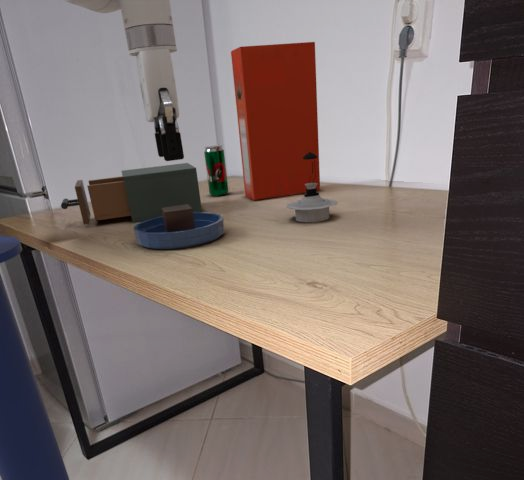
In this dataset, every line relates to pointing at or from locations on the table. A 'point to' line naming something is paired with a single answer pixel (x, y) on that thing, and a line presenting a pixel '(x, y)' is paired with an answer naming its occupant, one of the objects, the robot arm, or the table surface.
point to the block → (178, 218)
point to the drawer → (101, 199)
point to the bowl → (179, 232)
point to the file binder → (277, 117)
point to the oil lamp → (311, 202)
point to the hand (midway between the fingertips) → (170, 157)
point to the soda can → (216, 170)
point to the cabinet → (161, 189)
